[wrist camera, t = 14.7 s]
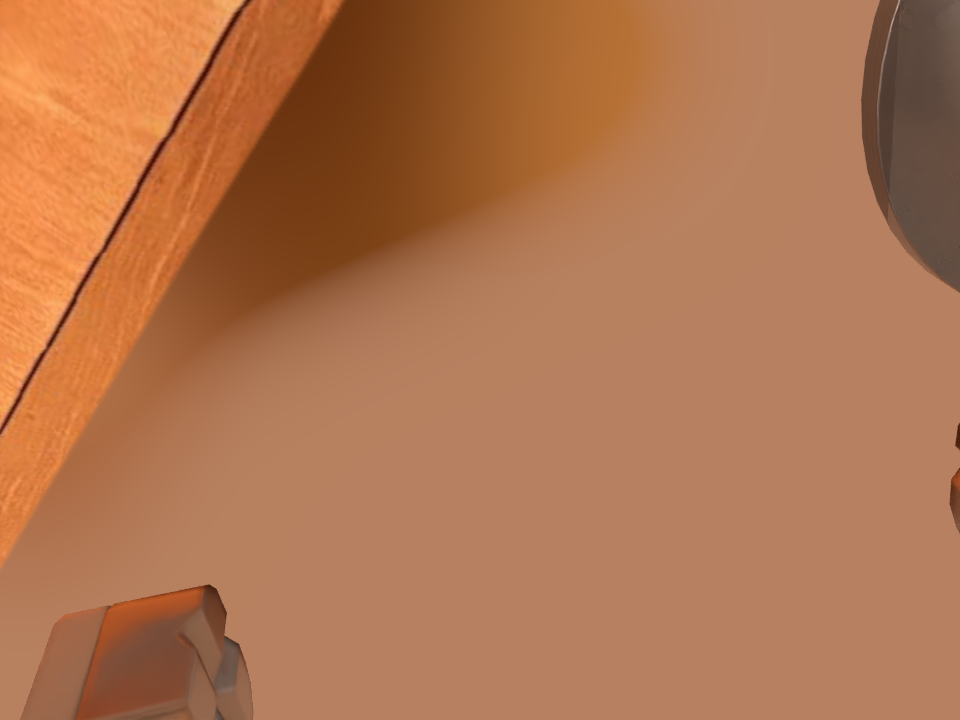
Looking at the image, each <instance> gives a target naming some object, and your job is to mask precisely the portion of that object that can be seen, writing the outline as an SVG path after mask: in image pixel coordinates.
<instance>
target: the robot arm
mask: <svg viewBox="0 0 960 720" xmlns="http://www.w3.org/2000/svg"><path fill="white" fill-rule="evenodd" d="M955 445H956V447H957V448H958V449H959V451H960V424H959V425H958V430H957V437H956V444H955ZM950 506H951V510H952V514H953V517H954V520H955V524H956V527H957V529H958V531H959V533H960V468H959V470H958V471H957V472H956V474H955V475H954V476H953V478H952V479H951V492H950ZM226 615H227V612H226V610H225V608H224V605H223V604H222V601H221V598H220V596H219V594H218V591H217V589H216V588H214V587H212V586H211V585H204V586H199V587H195V588H189V589H185V590H180V591H175V592H170V593H165V594H161V595H155V596H150V597H146V598H141V599H136V600H131V601H126V602H121V603H116V604H114V605H112V606H104V607H100V608H95V609H90V610H86V611H81V612H76V613H72V614H67V615H64V616H63V617H62V618H61V619H59V620H58V621H57V622H56V623H55V625H54V626H53V629H52V631H51V634H50V637H49V640H48V643H47V645H46V648H45V651H44V654H43V657H42V660H41V663H40V665H39V668H38V671H37V674H36V676H35V679H34V682H33V685H32V688H31V690H30V693H29V696H28V699H27V702H26V705H25V707H24V710H23V713H22V716H21V719H20V720H253V703H252V692H251V682H250V678H249V674H248V670H247V666H246V662H245V659H244V656H243V654H242V651H241V648H240V646H239V644H238V643H236V642H234V641H233V640H231V639H229V638H228V637H226V636H224V633H225V624H226Z"/></svg>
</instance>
